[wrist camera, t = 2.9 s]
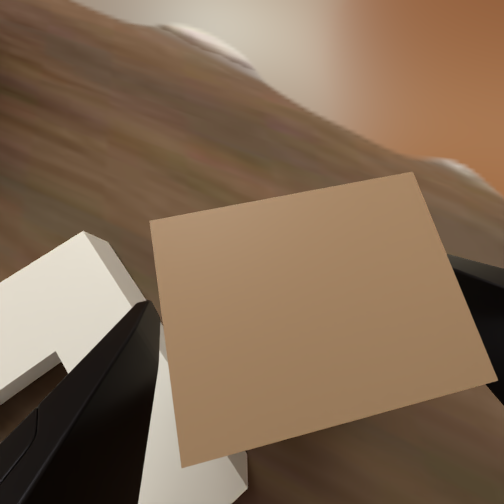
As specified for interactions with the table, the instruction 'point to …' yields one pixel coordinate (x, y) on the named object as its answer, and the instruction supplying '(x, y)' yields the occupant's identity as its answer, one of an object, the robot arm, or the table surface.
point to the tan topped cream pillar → (308, 314)
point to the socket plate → (83, 341)
